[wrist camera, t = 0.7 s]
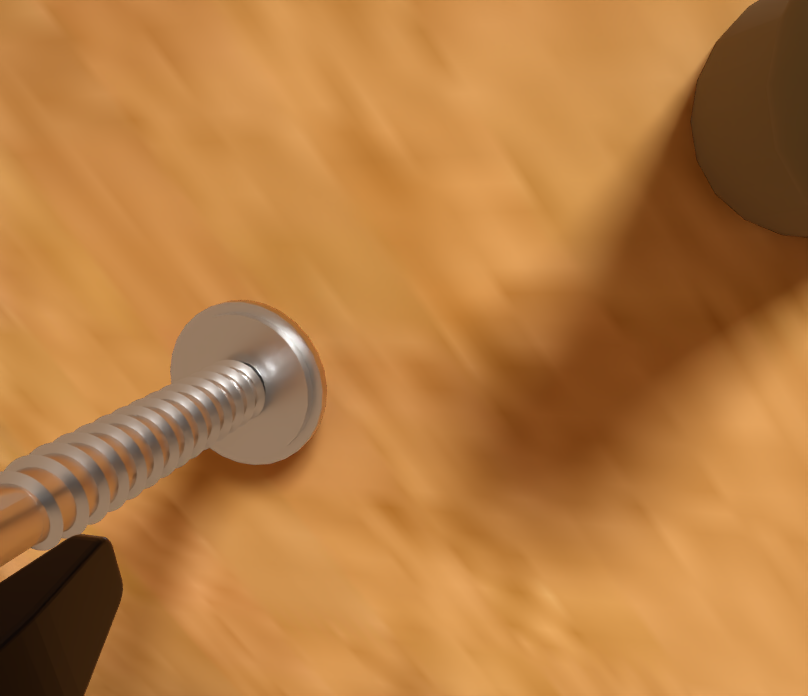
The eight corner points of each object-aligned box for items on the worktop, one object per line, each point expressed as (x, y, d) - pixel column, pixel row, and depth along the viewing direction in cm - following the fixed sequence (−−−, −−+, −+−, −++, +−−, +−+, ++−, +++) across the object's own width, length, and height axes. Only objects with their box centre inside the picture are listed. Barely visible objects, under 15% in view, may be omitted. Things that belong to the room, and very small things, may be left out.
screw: (380, 370, 22) (285, 468, 24) (267, 256, 23) (182, 363, 24) (76, 616, 10) (-69, 777, 12) (-161, 367, 10) (-269, 561, 12)
